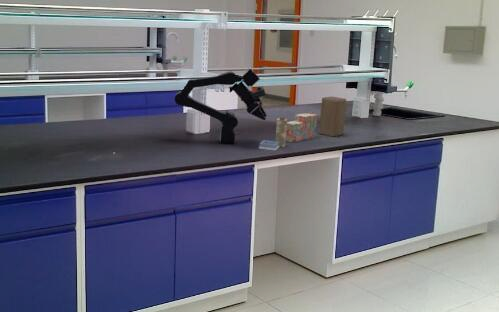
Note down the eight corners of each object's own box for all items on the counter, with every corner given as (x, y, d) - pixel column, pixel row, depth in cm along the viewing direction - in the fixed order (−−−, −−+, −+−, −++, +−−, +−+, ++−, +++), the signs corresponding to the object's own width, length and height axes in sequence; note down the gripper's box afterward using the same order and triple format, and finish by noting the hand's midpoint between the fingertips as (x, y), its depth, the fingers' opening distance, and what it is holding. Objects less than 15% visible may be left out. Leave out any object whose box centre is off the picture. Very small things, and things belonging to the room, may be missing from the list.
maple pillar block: (275, 146, 270) (277, 118, 267) (275, 144, 274) (278, 116, 271) (284, 147, 270) (286, 118, 266) (285, 145, 274) (287, 117, 271)
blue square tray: (258, 148, 264) (259, 143, 263) (263, 145, 271) (263, 140, 271) (275, 150, 262) (275, 145, 261) (279, 147, 269) (279, 142, 268)
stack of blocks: (292, 142, 281) (294, 118, 278) (282, 140, 285) (283, 116, 282) (315, 137, 297) (317, 114, 294) (306, 135, 301) (308, 112, 298)
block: (317, 133, 306) (321, 97, 302) (328, 131, 314) (332, 96, 309) (333, 137, 300) (336, 100, 295) (343, 135, 307) (347, 98, 302)
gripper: (255, 84, 256) (277, 110, 258) (258, 80, 274) (278, 104, 276) (237, 100, 258) (259, 125, 260) (241, 95, 276) (261, 118, 278)
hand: (265, 118), depth 269 cm, fingers open, 9 cm apart
